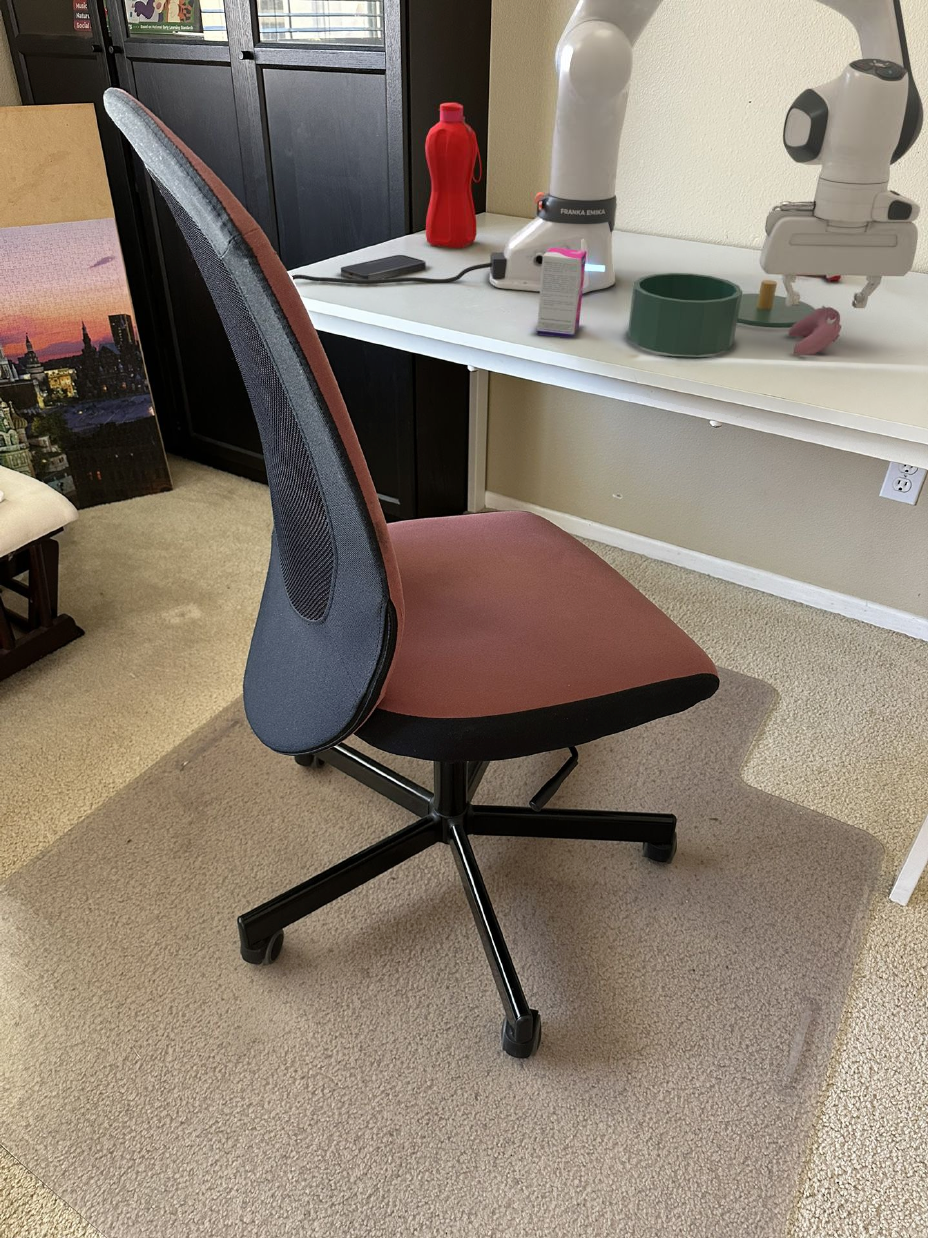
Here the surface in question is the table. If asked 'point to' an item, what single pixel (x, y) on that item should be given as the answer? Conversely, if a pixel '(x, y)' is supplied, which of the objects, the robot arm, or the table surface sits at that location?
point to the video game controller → (816, 330)
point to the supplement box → (561, 292)
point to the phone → (383, 267)
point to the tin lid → (770, 308)
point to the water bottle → (451, 179)
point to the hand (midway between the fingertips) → (824, 306)
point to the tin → (684, 314)
